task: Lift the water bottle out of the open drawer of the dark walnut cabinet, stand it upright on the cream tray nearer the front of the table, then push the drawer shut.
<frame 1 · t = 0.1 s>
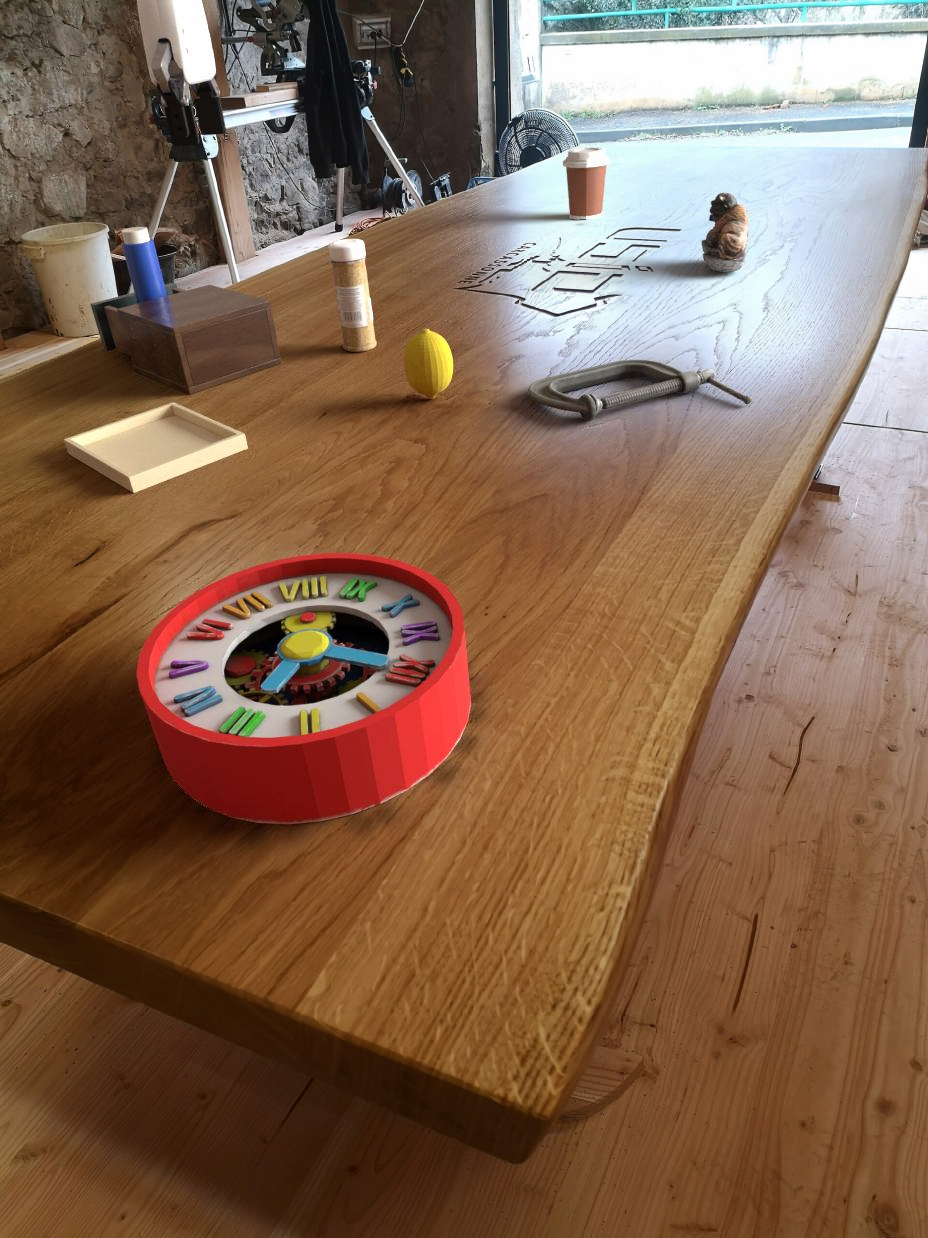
hand: (200, 139, 109), 26 cm above the table, tool pointing down, fingers open, 9 cm apart
coffee cup: (585, 217, 181), on the table
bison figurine: (722, 268, 142), on the table
toy clock: (318, 710, 59), on the table
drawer: (154, 320, 123), point 4 cm above the table, slide at 8.5 cm, touching water bottle
c clamp: (627, 400, 99), on the table
water bottle: (162, 337, 124), point 2 cm above the table, touching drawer
sprinkles bottle: (360, 349, 121), on the table
lemon: (431, 400, 103), on the table
tray: (157, 451, 96), on the table
cabinet: (207, 367, 118), on the table
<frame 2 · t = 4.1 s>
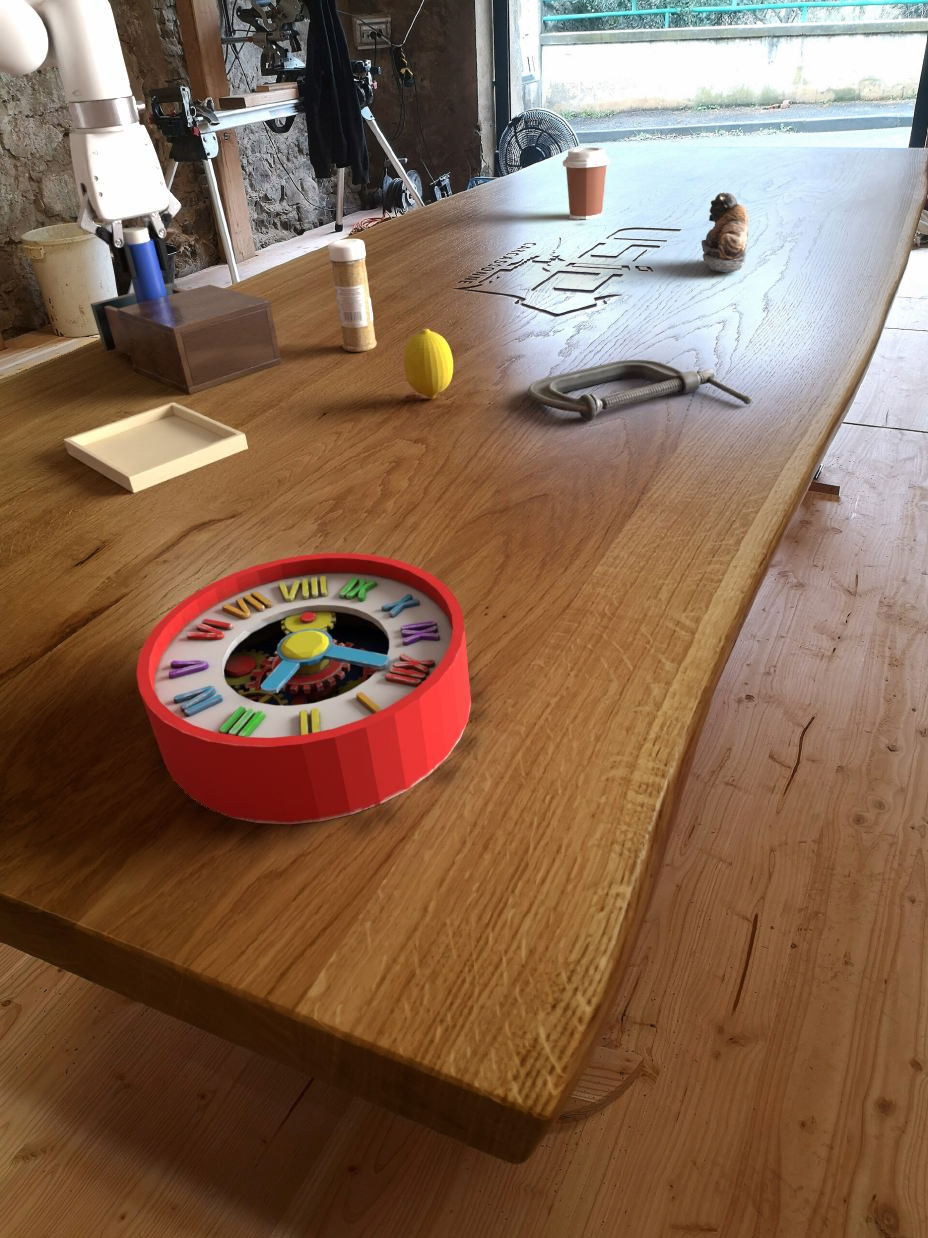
hand: (145, 271, 119), 11 cm above the table, tool pointing down, fingers closed on water bottle, 4 cm apart
water bottle: (162, 337, 124), point 2 cm above the table, touching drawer, gripper
everything else where it was.
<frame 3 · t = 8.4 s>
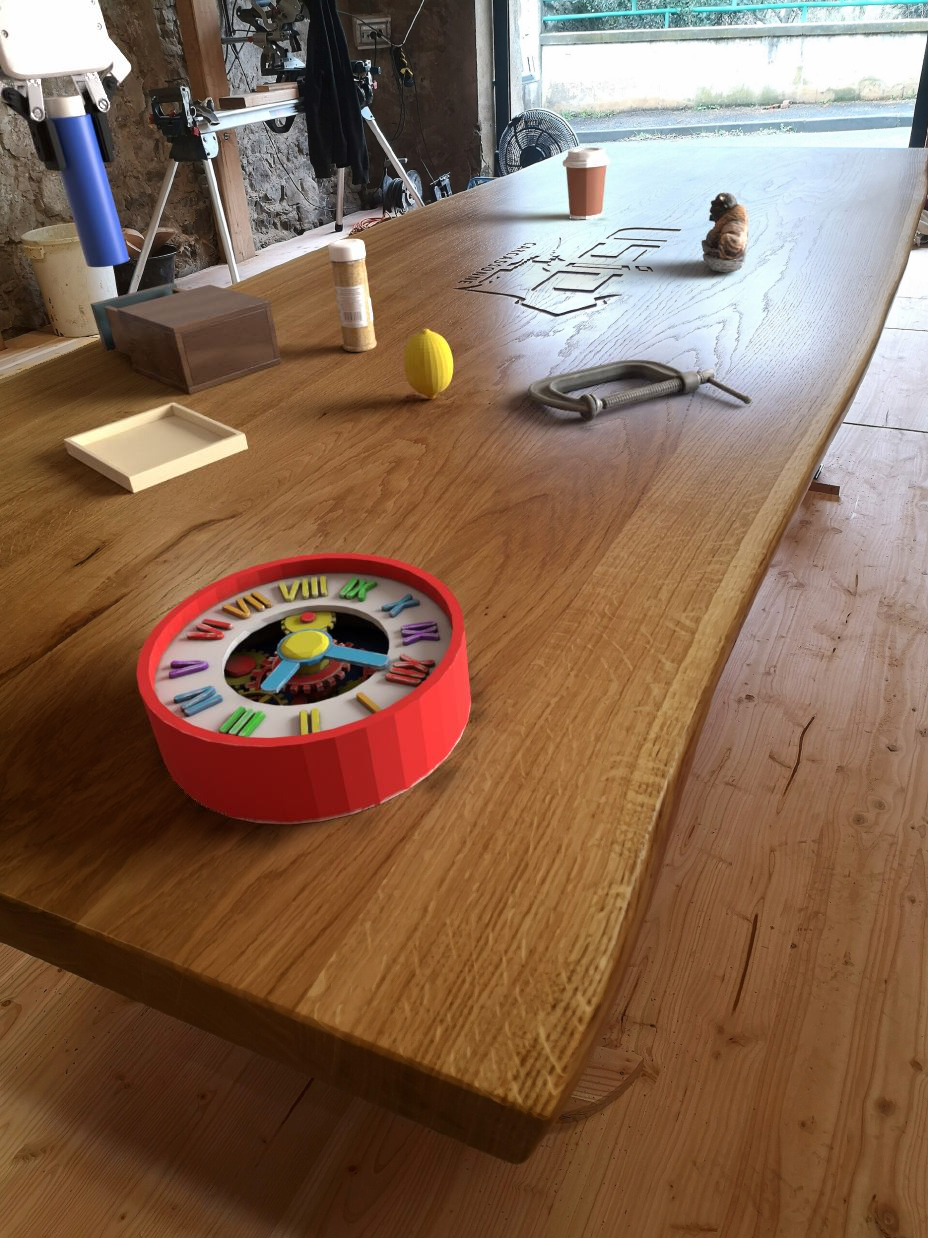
hand: (80, 163, 82), 27 cm above the table, tool pointing down, fingers closed on water bottle, 4 cm apart
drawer: (154, 320, 123), point 4 cm above the table, slide at 8.5 cm
water bottle: (108, 262, 87), point 19 cm above the table, touching gripper
everything else where it was.
when the fingers open (9 cm above the table, at t = 12.9 s): water bottle stays where it is, resting on tray.
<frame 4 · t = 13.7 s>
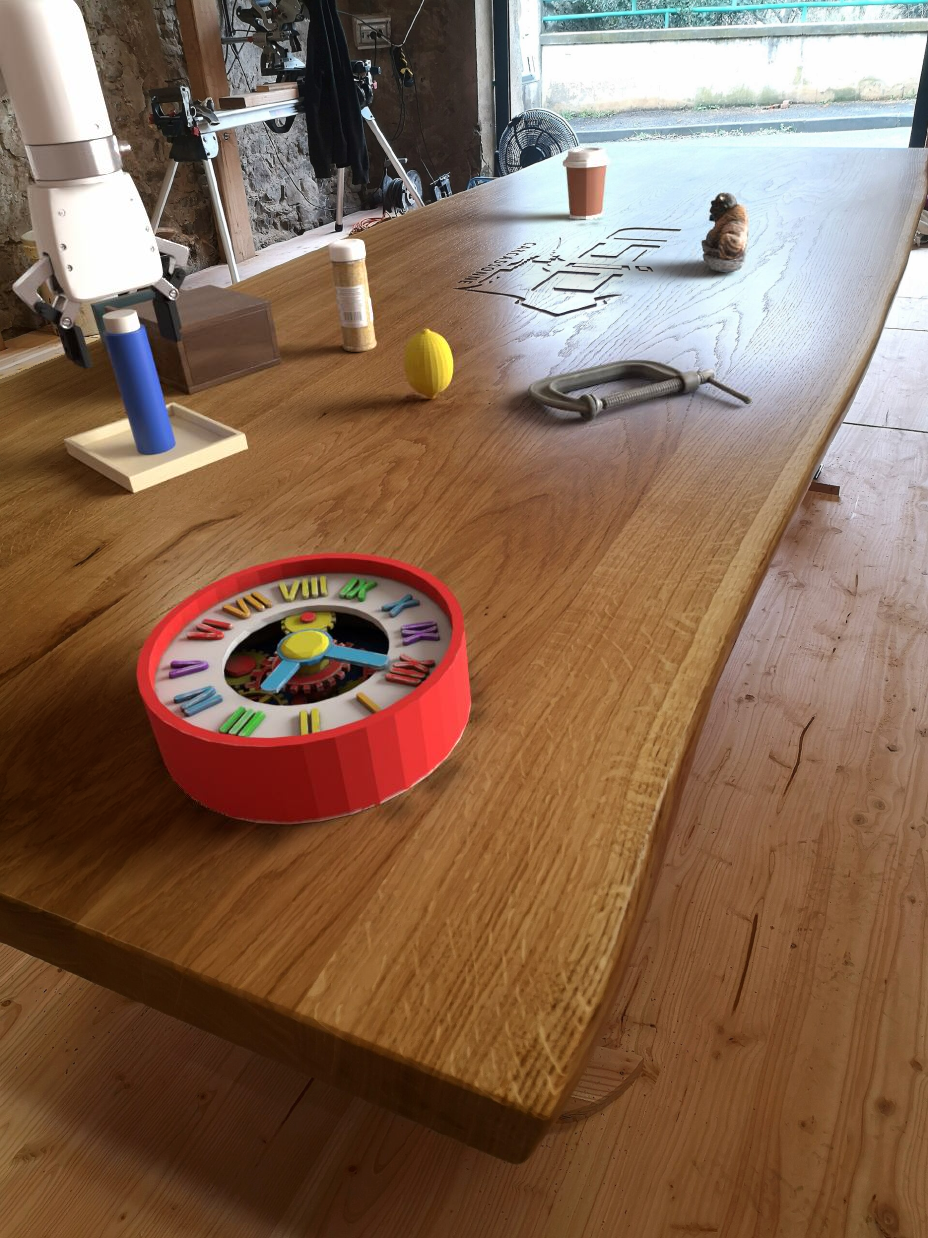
hand: (128, 351, 90), 11 cm above the table, tool pointing down, fingers open, 9 cm apart
water bottle: (156, 447, 95), resting on tray
everything else where it was.
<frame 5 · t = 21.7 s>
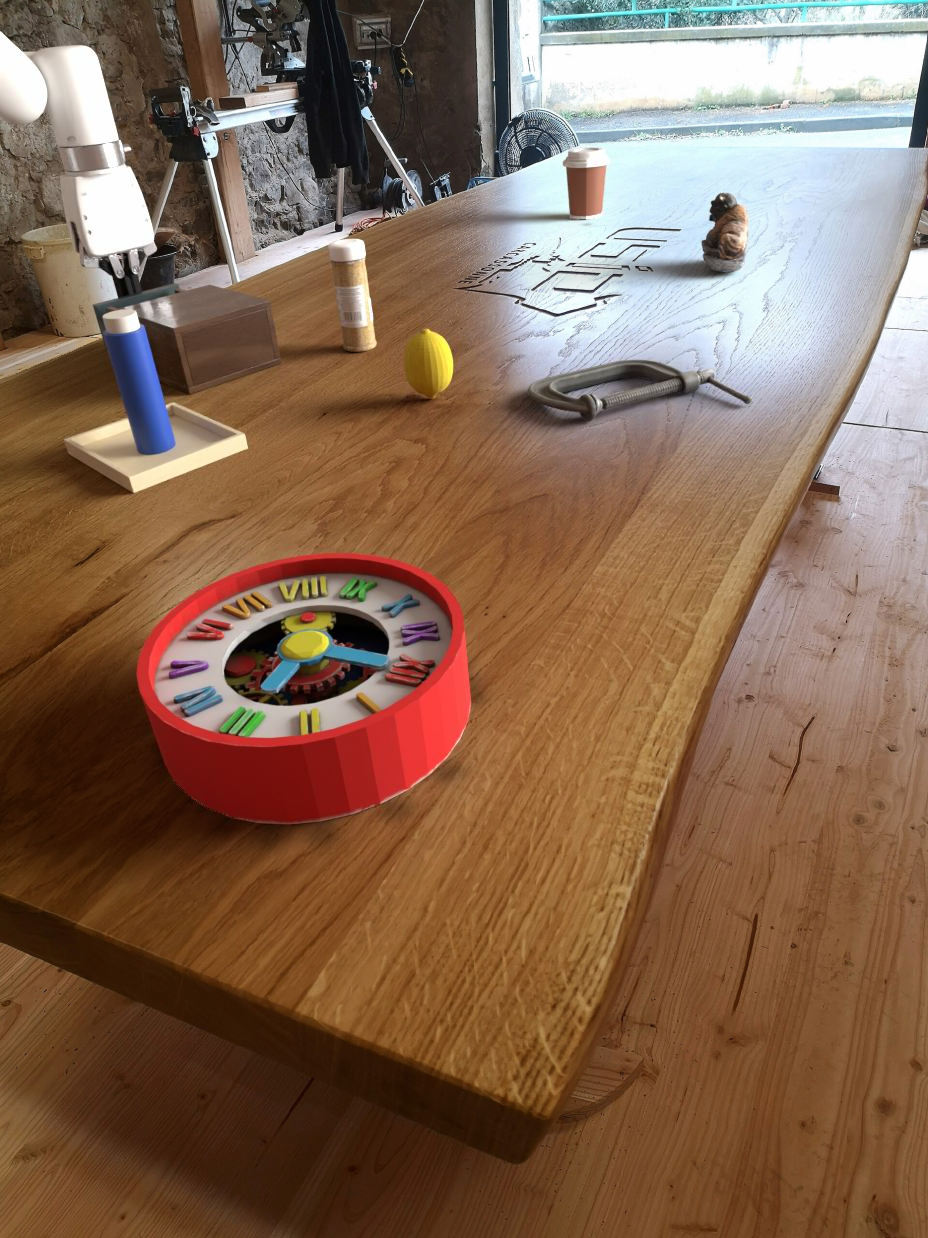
hand: (132, 303, 126), 6 cm above the table, tool pointing down, fingers closed
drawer: (156, 321, 123), point 4 cm above the table, slide at 7.8 cm, touching gripper
everything else where it was.
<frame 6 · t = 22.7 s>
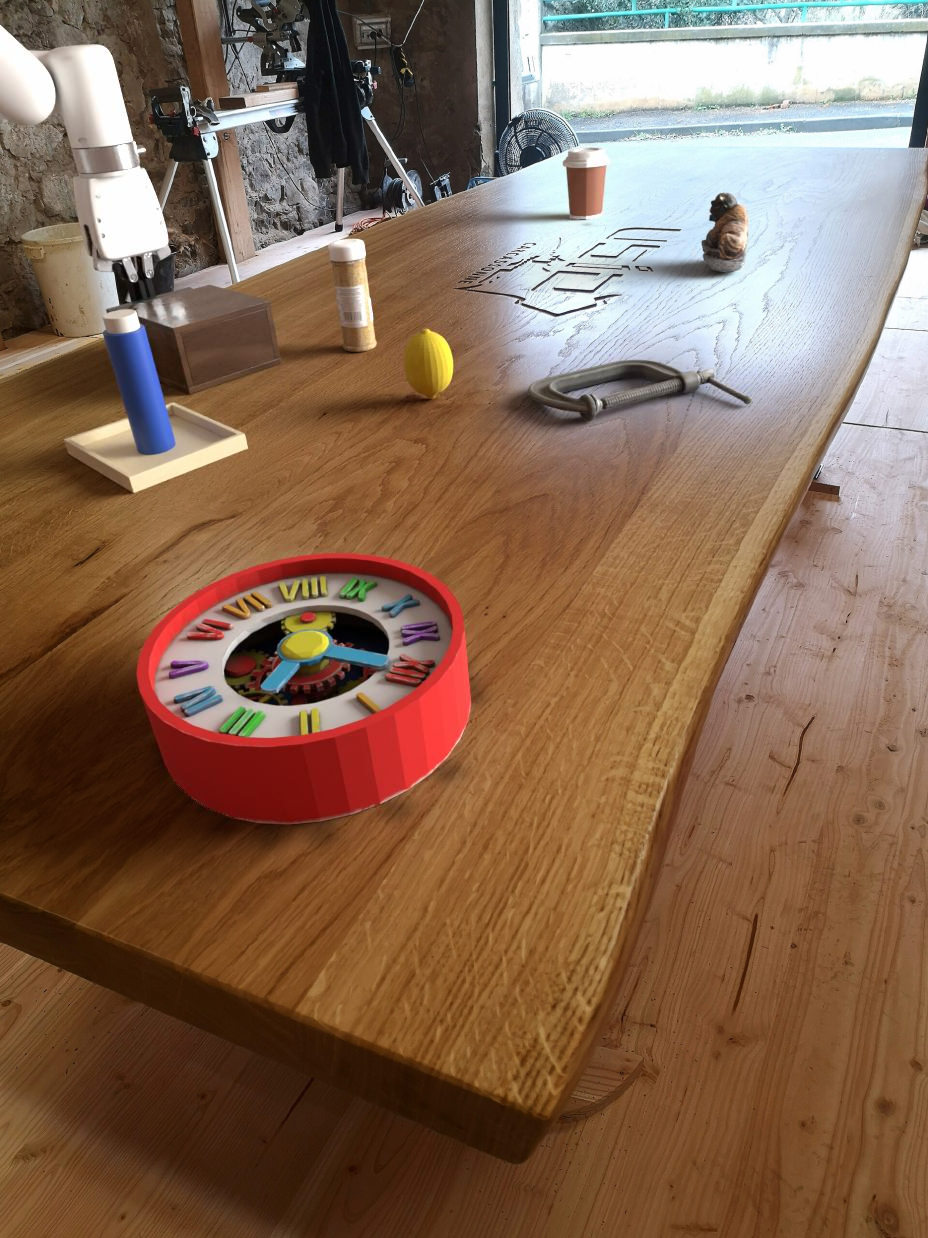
hand: (146, 308, 123), 6 cm above the table, tool pointing down, fingers closed
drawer: (170, 326, 120), point 4 cm above the table, slide at 3.8 cm, touching gripper
everything else where it was.
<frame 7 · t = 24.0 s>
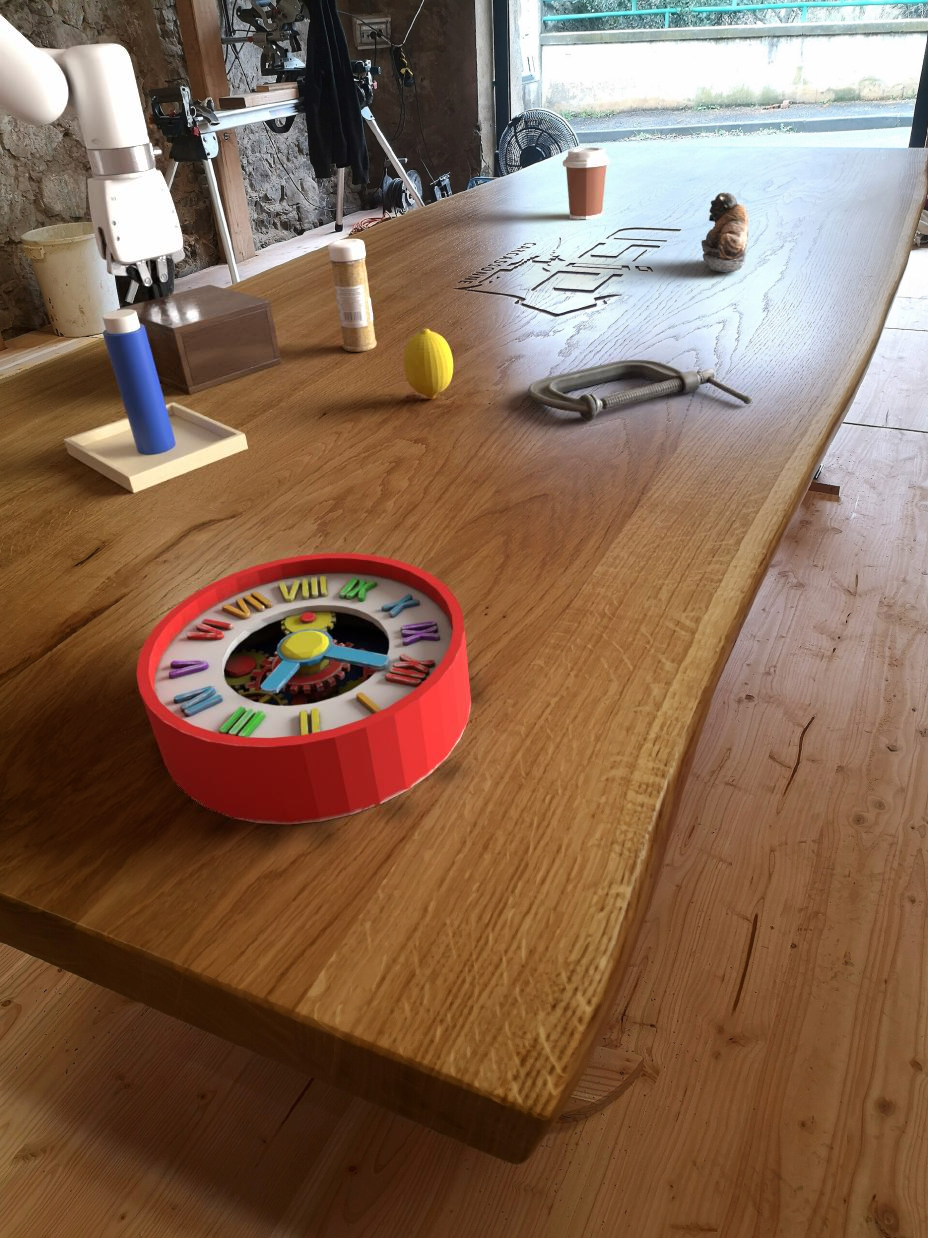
hand: (159, 312, 121), 6 cm above the table, tool pointing down, fingers closed
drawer: (185, 331, 118), point 4 cm above the table, slide at 0.0 cm, touching cabinet, gripper
everything else where it was.
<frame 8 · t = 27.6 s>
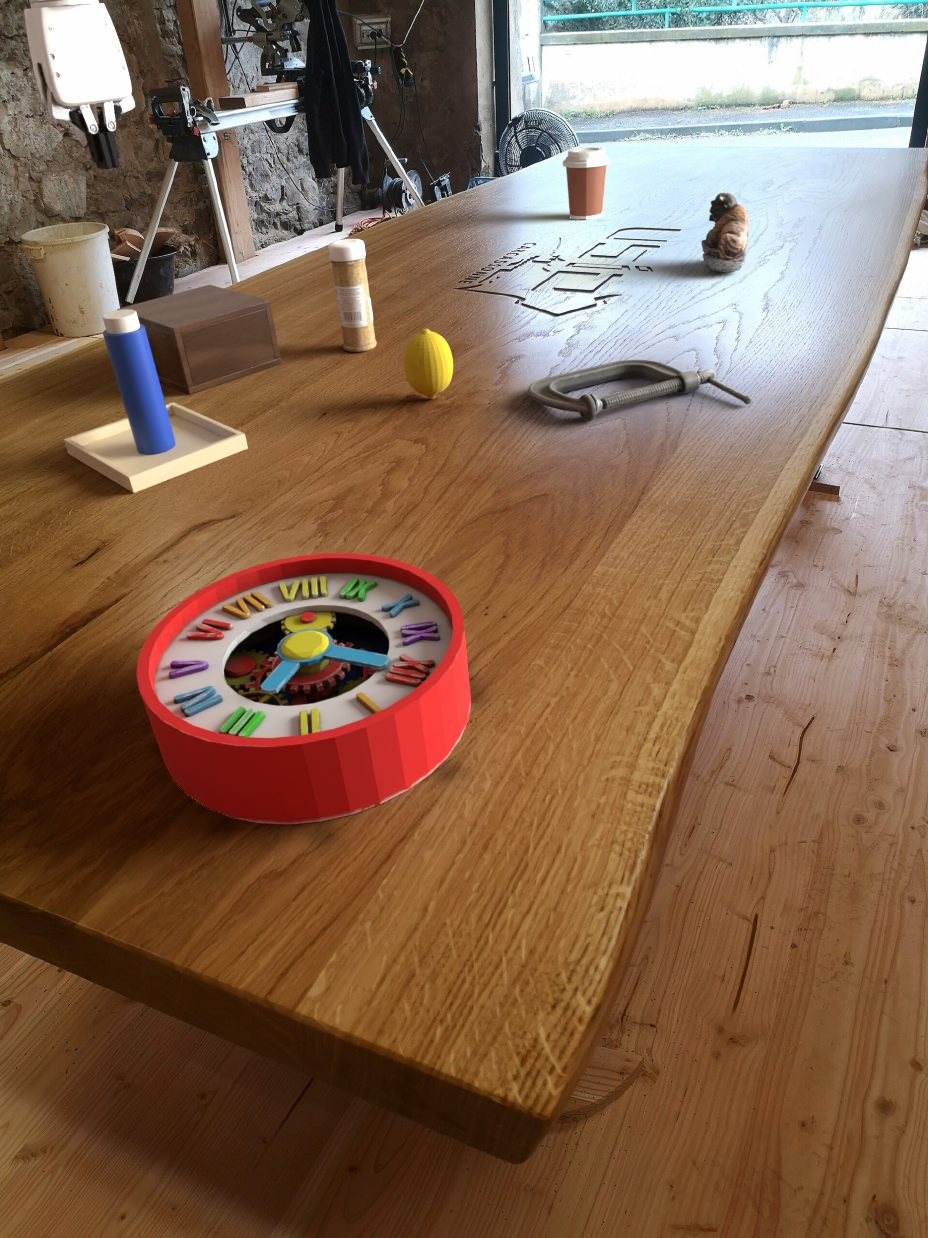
hand: (108, 167, 114), 23 cm above the table, tool pointing down, fingers closed
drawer: (185, 331, 118), point 4 cm above the table, slide at 0.0 cm, touching cabinet
everything else where it was.
at the end: water bottle inside the target area in the tray (0.1 cm from its centre), point 0.5 cm above the tray's base; water bottle tilted 0°; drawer slide at 0.0 cm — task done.
